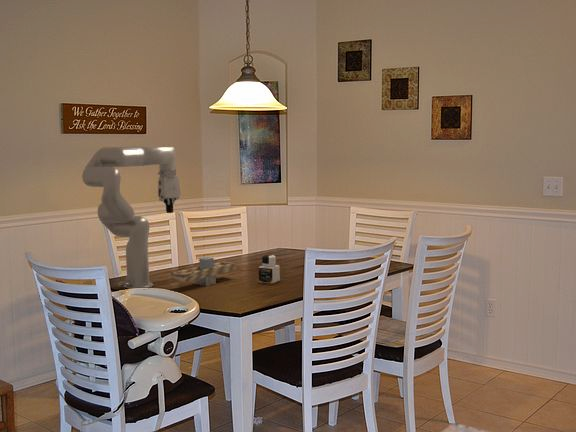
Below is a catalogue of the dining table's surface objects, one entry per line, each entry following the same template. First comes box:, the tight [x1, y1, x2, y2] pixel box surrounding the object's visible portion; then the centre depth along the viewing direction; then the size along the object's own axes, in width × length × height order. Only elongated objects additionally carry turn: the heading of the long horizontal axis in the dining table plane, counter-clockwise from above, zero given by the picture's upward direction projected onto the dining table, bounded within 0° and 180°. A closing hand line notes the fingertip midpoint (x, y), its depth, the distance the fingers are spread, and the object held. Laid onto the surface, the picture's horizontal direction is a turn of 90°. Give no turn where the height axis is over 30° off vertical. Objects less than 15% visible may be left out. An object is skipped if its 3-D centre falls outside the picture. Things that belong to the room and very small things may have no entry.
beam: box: [170, 261, 237, 283], centre depth 318 cm, size 32×8×4 cm, turn 141°
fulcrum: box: [193, 275, 217, 287], centre depth 318 cm, size 6×8×4 cm
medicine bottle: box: [258, 254, 281, 284], centre depth 320 cm, size 7×7×12 cm
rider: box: [198, 256, 215, 270], centre depth 318 cm, size 4×4×5 cm
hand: (169, 212), depth 332 cm, fingers closed
